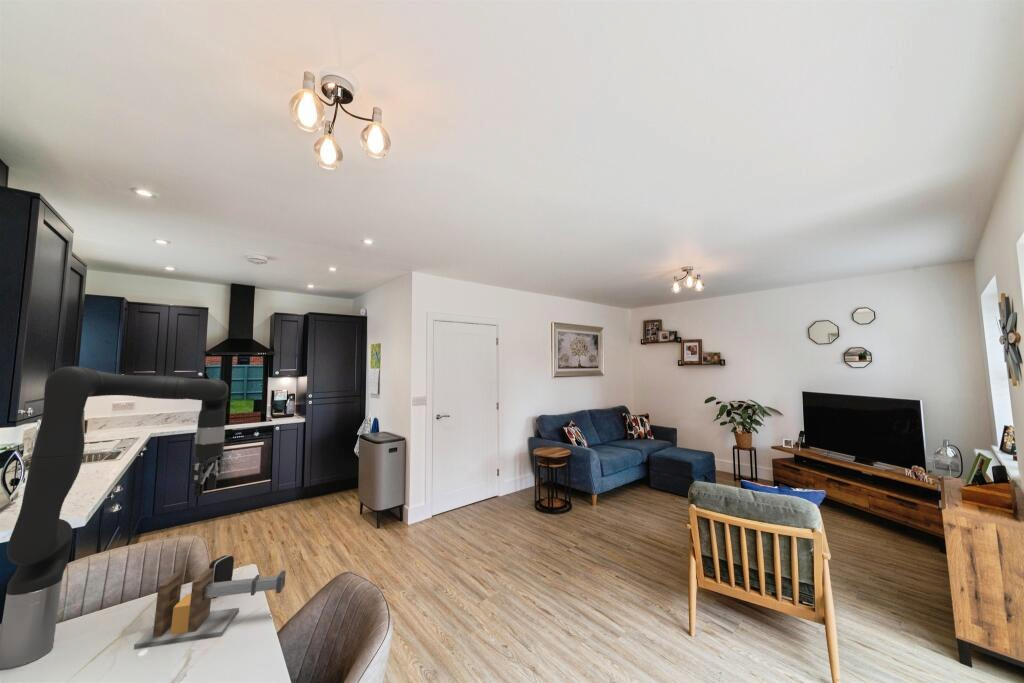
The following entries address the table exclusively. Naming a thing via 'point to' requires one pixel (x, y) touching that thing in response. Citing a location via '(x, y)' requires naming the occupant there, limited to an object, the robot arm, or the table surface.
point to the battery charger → (222, 569)
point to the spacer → (181, 615)
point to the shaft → (245, 586)
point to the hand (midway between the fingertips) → (204, 493)
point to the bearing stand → (200, 615)
